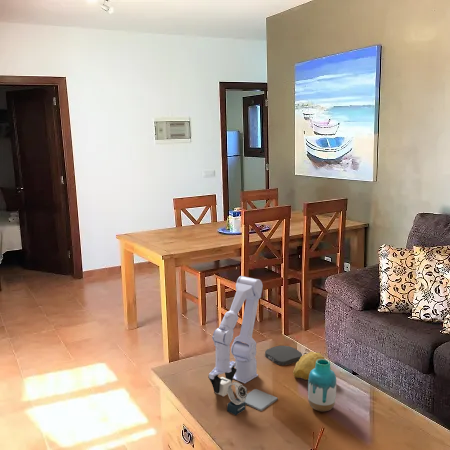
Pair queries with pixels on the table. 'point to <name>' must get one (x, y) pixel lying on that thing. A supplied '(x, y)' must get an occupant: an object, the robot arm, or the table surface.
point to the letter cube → (224, 386)
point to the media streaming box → (283, 355)
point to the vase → (322, 386)
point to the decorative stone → (306, 365)
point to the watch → (236, 404)
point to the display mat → (259, 399)
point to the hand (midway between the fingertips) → (222, 388)
